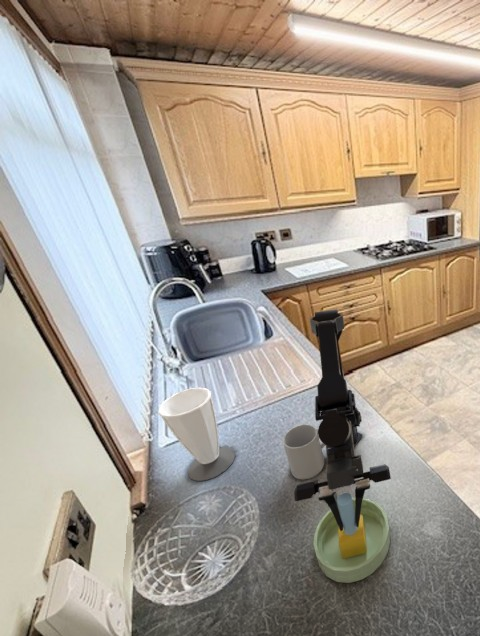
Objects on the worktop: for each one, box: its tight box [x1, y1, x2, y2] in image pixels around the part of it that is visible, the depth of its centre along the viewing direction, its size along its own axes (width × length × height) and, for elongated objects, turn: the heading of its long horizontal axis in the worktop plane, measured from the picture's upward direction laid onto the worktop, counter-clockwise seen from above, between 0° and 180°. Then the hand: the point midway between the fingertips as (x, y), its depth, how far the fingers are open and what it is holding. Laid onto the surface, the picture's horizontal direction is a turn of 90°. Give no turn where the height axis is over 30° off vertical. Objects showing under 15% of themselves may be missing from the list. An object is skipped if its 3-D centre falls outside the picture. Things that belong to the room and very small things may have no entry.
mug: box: [282, 423, 326, 481], centre depth 92 cm, size 12×8×11 cm
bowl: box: [313, 497, 391, 584], centre depth 73 cm, size 15×15×4 cm
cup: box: [157, 386, 236, 482], centre depth 90 cm, size 12×12×22 cm
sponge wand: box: [337, 492, 367, 559], centre depth 70 cm, size 5×5×14 cm
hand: (349, 528), depth 69 cm, fingers closed on sponge wand, 3 cm apart
